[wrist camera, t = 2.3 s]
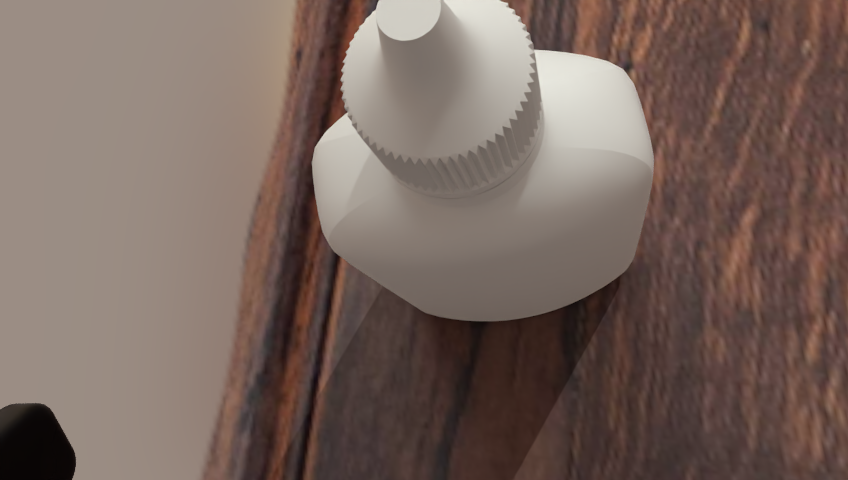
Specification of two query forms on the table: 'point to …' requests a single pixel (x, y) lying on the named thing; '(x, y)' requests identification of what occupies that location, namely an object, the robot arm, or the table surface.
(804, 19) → the table surface
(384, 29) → the eye dropper bottle
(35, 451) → the robot arm
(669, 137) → the table surface
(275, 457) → the table surface
